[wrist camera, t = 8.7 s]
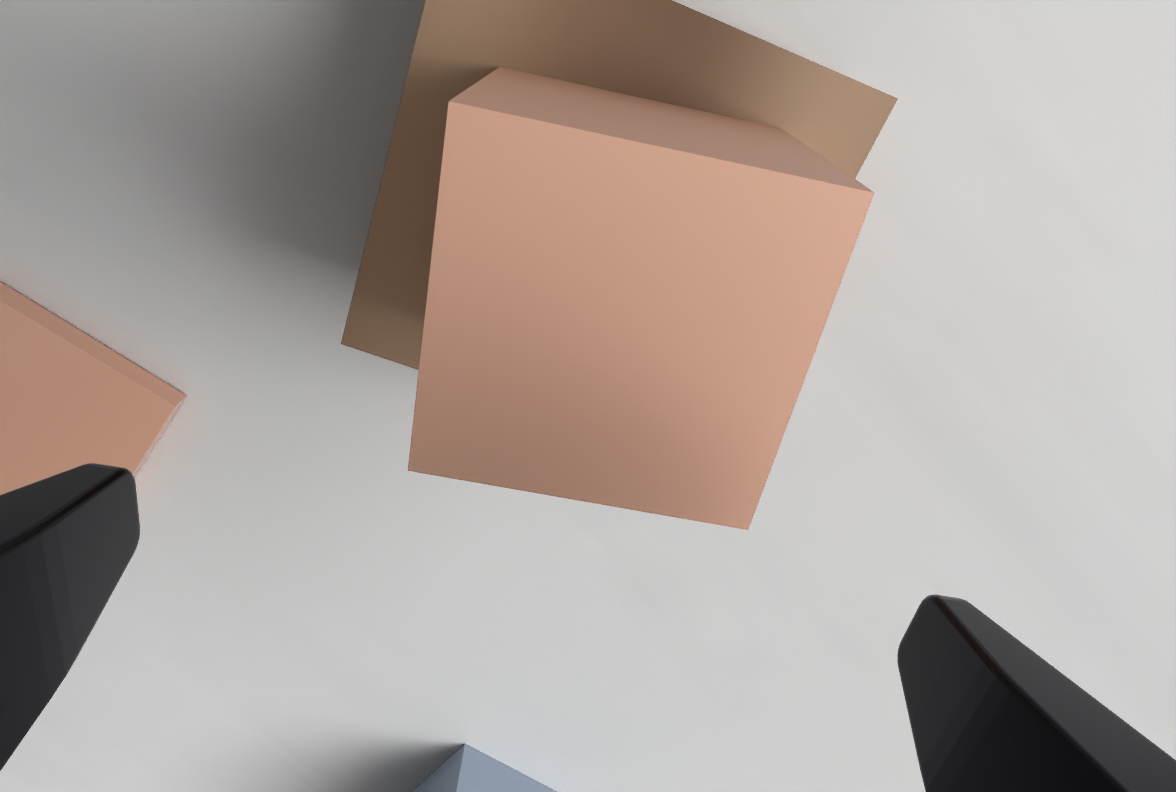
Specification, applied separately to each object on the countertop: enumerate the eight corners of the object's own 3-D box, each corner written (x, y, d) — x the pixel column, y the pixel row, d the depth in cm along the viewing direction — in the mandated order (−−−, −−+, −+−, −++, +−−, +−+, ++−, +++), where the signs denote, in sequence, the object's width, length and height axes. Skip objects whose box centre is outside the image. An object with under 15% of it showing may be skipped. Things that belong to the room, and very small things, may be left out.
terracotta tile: (-116, 421, 21) (-135, 432, 20) (-43, 254, 18) (-63, 262, 18) (96, 535, 22) (84, 548, 22) (187, 395, 20) (175, 406, 19)
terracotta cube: (463, 332, 15) (407, 470, 11) (499, 67, 13) (448, 101, 8) (705, 379, 16) (748, 529, 11) (781, 128, 13) (874, 192, 9)
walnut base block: (389, 278, 19) (340, 343, 15) (483, -75, 15) (449, -97, 12) (683, 382, 20) (702, 464, 17) (834, 77, 17) (898, 98, 13)
